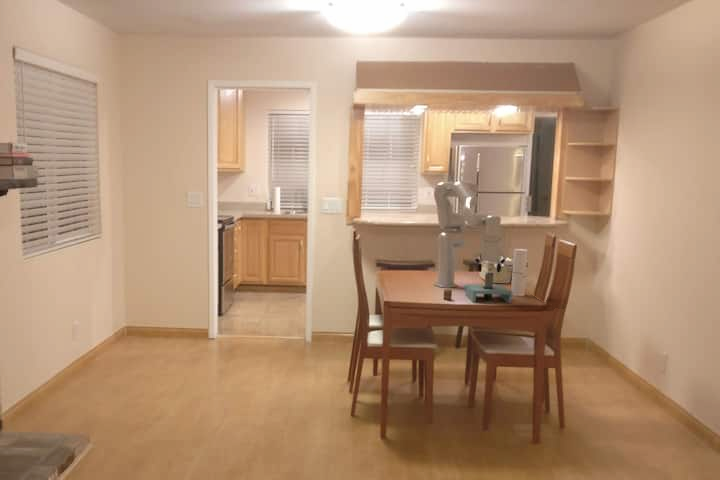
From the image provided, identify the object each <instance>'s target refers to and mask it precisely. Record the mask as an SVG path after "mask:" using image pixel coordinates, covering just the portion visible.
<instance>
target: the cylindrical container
mask: <svg viewBox="0 0 720 480" xmlns="http://www.w3.org/2000/svg"><path fill="white" fill-rule="evenodd" d="M528 251H529V250H528V249H524V248H514V249H513V257H512V258H513V259H512V260H513V265H512V271H511V287H510V289H511V290H510V291H512V297H513V296H515V297H525V291H526V281H527V280H526V279H527V277H526V275H527V266H528V263H527V262H528Z"/></svg>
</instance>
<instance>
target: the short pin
mask: <svg viewBox="0 0 720 480" xmlns="http://www.w3.org/2000/svg"><path fill="white" fill-rule="evenodd" d="M452 292H453V291H452V289H450V288H449V289H448V288H446V289H445V288H444V289H443V300H444V301H452V297H453V296H452V294H453V293H452Z"/></svg>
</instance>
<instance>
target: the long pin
mask: <svg viewBox="0 0 720 480" xmlns="http://www.w3.org/2000/svg"><path fill="white" fill-rule="evenodd" d="M484 285H485V289H492V287H493V285H494V283H493V273H491V272H486V274H485V280H484ZM483 300H485V301H491V300H493V294H483Z"/></svg>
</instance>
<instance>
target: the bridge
mask: <svg viewBox="0 0 720 480" xmlns="http://www.w3.org/2000/svg"><path fill="white" fill-rule="evenodd" d="M479 294H480V295H484V294H492V295H499V297H500V298H501V299H502V300H503V301H505V302H507V304H512V302H513V301H512V299H513V295H512V291H511V290H510V289H509V288H508V287H506V286H505V285H498V284H493V287H492V289H485V284H470V283H469V284H466V285H465V296H466V297H467V298H468V300H469V301H471V302H472V303H476V302H477V301H476V300H477V295H479Z"/></svg>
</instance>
